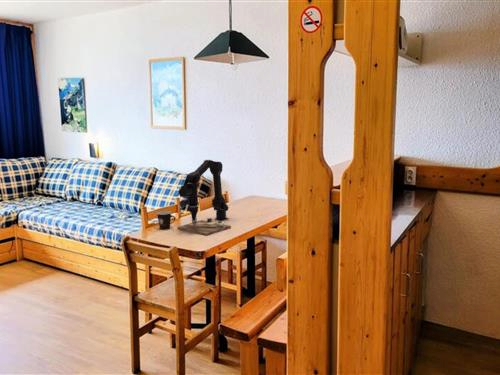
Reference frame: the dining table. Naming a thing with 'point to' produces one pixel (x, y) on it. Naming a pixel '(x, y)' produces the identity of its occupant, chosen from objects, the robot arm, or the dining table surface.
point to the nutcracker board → (203, 228)
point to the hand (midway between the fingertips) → (193, 219)
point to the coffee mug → (164, 220)
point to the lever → (207, 223)
